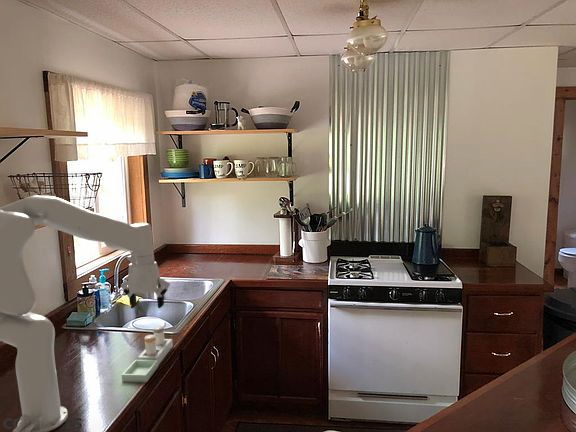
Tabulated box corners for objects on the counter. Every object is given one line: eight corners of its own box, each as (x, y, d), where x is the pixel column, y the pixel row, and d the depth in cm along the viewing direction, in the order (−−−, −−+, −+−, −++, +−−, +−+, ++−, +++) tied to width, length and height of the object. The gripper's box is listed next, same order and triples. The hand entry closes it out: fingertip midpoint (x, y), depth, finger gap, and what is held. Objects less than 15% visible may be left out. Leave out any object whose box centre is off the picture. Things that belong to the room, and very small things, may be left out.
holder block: (157, 365, 161) (157, 357, 160) (138, 365, 162) (137, 357, 161) (172, 346, 176) (172, 339, 175) (155, 346, 176) (154, 338, 176)
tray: (146, 382, 150) (145, 375, 150) (122, 381, 151) (121, 374, 150) (158, 366, 160) (157, 360, 160) (135, 366, 161) (135, 359, 160)
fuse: (163, 352, 171) (161, 329, 169) (153, 352, 171) (151, 329, 169) (167, 348, 174) (165, 325, 173) (157, 348, 175) (155, 325, 173)
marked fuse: (155, 363, 163) (152, 339, 161) (144, 363, 163) (142, 339, 162) (159, 358, 166) (156, 334, 165) (149, 358, 167) (146, 334, 165)
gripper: (113, 262, 156) (118, 310, 159) (163, 262, 154) (167, 311, 157) (123, 256, 163) (128, 303, 166) (171, 256, 161) (175, 303, 164)
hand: (147, 306), depth 162 cm, fingers open, 9 cm apart
